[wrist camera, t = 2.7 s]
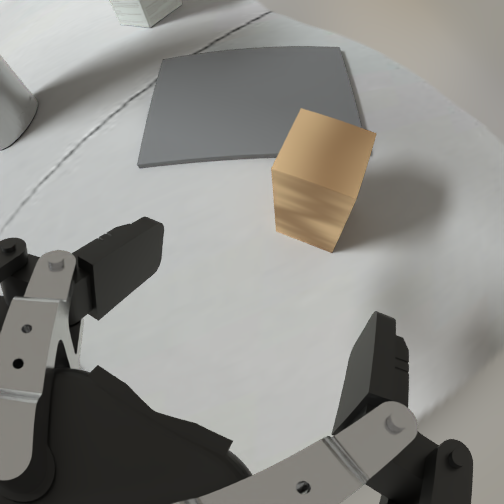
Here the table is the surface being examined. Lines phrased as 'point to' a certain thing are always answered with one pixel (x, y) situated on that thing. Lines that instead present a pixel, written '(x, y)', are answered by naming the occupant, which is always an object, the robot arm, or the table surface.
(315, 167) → the oak block
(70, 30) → the table surface
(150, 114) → the rubber mat
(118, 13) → the supplement box
